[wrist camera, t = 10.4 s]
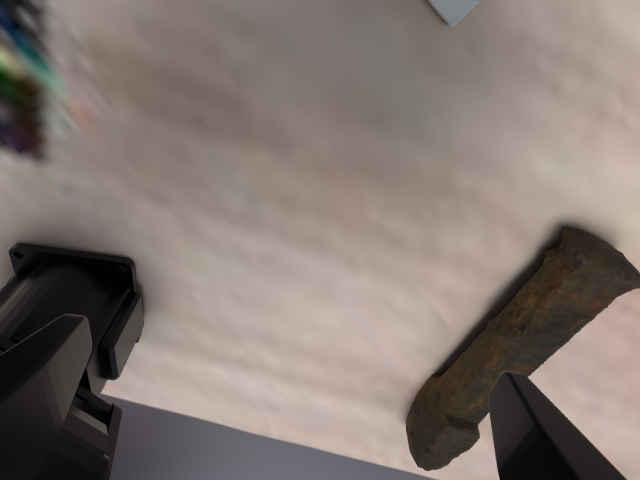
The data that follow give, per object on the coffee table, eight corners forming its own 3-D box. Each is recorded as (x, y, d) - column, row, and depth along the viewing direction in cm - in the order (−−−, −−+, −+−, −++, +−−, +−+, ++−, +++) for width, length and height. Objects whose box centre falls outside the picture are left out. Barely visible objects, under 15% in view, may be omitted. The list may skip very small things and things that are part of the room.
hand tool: (560, 211, 23) (605, 267, 19) (618, 240, 24) (673, 300, 20) (374, 408, 33) (379, 471, 29) (420, 423, 34) (430, 487, 30)
